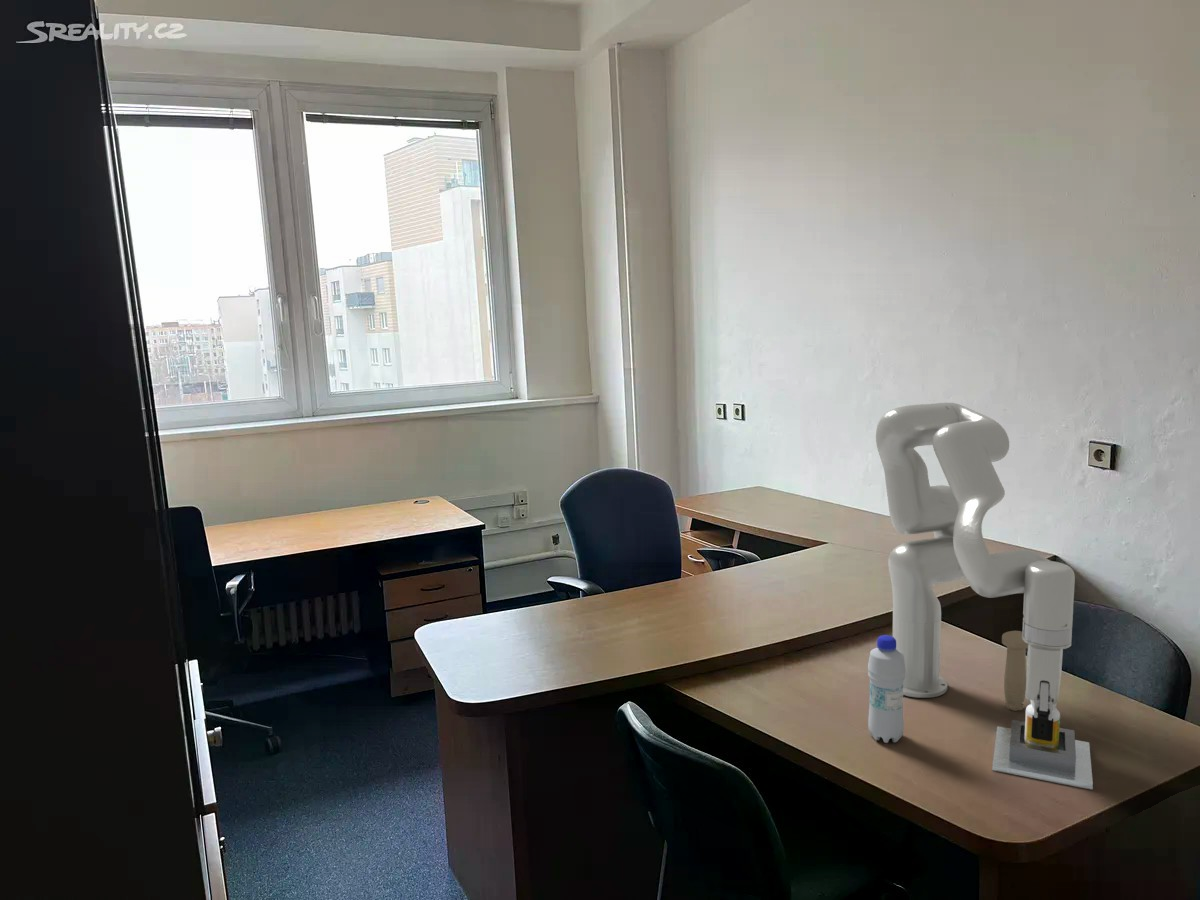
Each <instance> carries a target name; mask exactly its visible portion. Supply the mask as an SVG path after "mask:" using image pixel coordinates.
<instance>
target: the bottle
mask: <svg viewBox="0 0 1200 900" xmlns="http://www.w3.org/2000/svg"><path fill="white" fill-rule="evenodd" d="M867 671H868V672H867V675H868V677H869V706H868V707H869V708H868V719H867V720H868V721H867V724H868V725H867V726H868V732H869V735H871V736H872V737H873V739H874V740H875V741H877V740H879V741H880V740H881V739H882V741H883V743H885V744H888V743H889V741H890V739H891V741H892V742H893V743H897V742H898V741H899V740H900V739H901V738H902V736H903V734H904V726H905V725H904V724H905V723H904V711H903V710H904V695H903V681H904V679H905V672H906V669H905V662H904V655H903V653H902V652H901V651H899V650H897V649H896V640H895V638H894V637H893V635H892V636H891V635H887V634H883V635H880V636H878V638H877V639H876V647H874V648H873V649H871V650H870V652H869V658H868V663H867Z"/></svg>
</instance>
